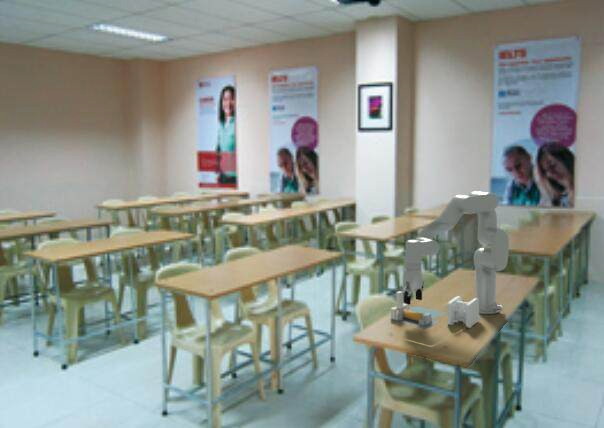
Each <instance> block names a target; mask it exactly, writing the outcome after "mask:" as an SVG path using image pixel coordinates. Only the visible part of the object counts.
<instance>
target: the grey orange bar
mask: <svg viewBox="0 0 604 428" xmlns="http://www.w3.org/2000/svg"><path fill="white" fill-rule="evenodd" d="M397 311H398V312H397V313H398V314H400V315H403V319H404V318H406V319H411V320H415V321H419V320H420V319H421V320H425V325H427V324H429V323H431V314H429V313H425V314H422V313H418V312H414V311H409V310H407V308H401V309H399V310H397ZM398 314H397V315H398Z"/></svg>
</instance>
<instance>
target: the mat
mask: <svg viewBox="0 0 604 428" xmlns="http://www.w3.org/2000/svg"><path fill="white" fill-rule="evenodd" d="M409 311H414V312H418V313H422V314H425V313H429V314H431V317H432V319H433V320H436V319H437V318H439V317H441V316H443V315H447V312H443V311H439V310H436V309H435V310H434V309H429V308H424V307H421V306H412V307H409Z"/></svg>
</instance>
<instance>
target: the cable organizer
mask: <svg viewBox="0 0 604 428" xmlns="http://www.w3.org/2000/svg"><path fill="white" fill-rule="evenodd" d="M445 307H446V323H447V324H446V325H448V326H453V325H455V324H456V325H457V324H459V323H458V322H463V324H462V325H465V327H466V328H468V329H471V328H472V327H473V326H474V325H475V324H477V323H478V322H479V319H480V313H479V299H478V298H476V297H474V298H473V299H471V300H470V301H463V296H461V295H457V296H455V297H454V298H452V299H451V300H449V301H448V302H447V303H446V305H445Z"/></svg>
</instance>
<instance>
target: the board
mask: <svg viewBox="0 0 604 428" xmlns="http://www.w3.org/2000/svg"><path fill="white" fill-rule="evenodd" d="M389 321H393V322H397V323H401V324H405V325H409V326H413V327H418V328H421V329H427V328H430V327H432V326H434V325H435V324H439V323H440V322H441V320H437V319H432V317H431V323H429V324H427V325H425V320H421V319H420V320H419V321H415V320H411V319H406V318H404V319H403V315H400V314H396V320H394V319H391V318H389Z"/></svg>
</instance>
